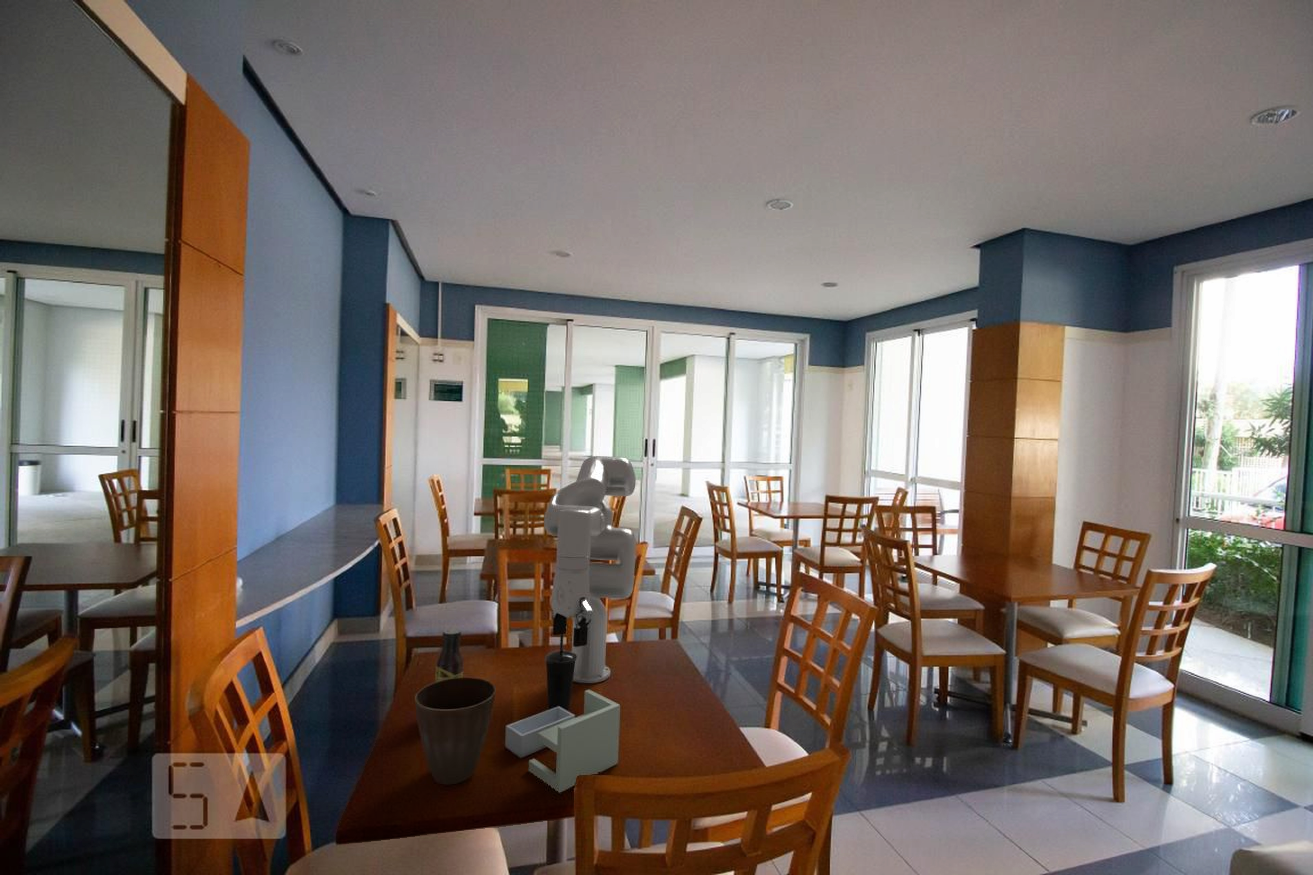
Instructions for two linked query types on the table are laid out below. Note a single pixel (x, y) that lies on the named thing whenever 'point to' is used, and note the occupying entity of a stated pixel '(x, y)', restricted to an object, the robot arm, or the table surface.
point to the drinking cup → (560, 677)
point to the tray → (533, 730)
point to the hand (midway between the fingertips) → (569, 639)
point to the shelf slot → (581, 743)
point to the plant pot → (454, 725)
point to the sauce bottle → (450, 656)
